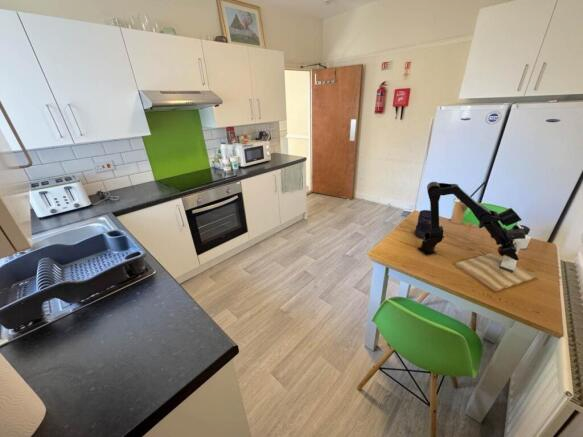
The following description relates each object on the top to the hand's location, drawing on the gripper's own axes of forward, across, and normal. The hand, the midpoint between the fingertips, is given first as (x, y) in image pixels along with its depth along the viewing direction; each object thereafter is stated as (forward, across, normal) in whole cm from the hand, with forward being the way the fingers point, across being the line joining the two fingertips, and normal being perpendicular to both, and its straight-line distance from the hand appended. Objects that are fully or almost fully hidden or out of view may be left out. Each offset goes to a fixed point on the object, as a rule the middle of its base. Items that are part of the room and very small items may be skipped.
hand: (516, 256), depth 113 cm
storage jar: (-23, +13, +34) cm, 43 cm away
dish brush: (+4, 0, +6) cm, 7 cm away
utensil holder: (-11, +44, +23) cm, 50 cm away
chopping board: (+1, -6, +10) cm, 12 cm away
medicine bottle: (+9, +28, +3) cm, 29 cm away
